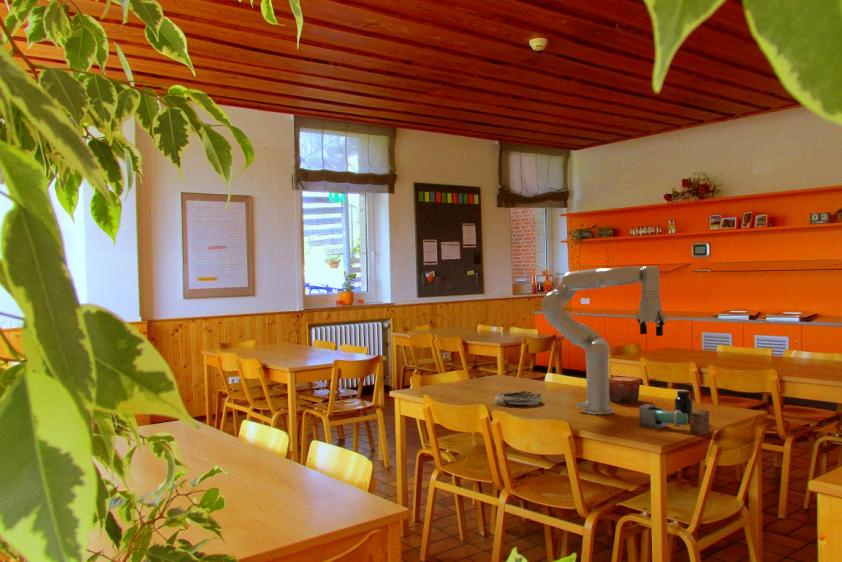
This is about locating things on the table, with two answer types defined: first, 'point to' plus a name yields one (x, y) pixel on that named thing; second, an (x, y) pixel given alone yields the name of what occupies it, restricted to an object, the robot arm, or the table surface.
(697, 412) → the socket block
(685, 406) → the supplement bottle
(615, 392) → the food container
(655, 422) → the sleeve
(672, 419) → the tube
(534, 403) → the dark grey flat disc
